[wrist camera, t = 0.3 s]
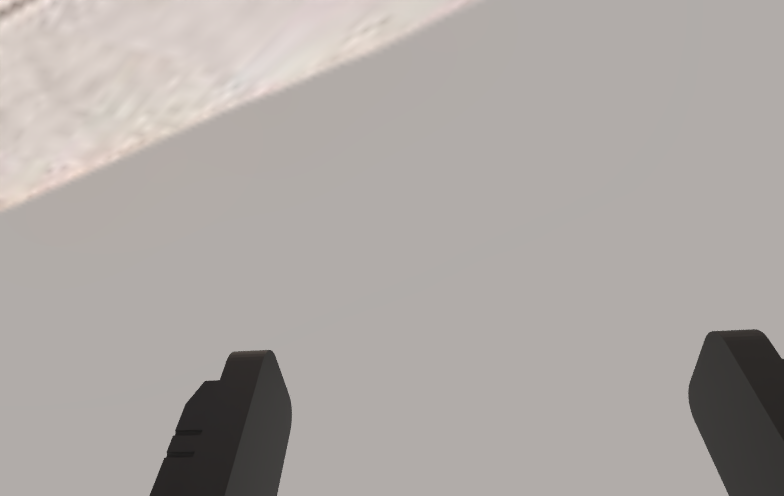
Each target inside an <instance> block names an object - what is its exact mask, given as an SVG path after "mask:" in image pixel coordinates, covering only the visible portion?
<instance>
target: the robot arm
mask: <svg viewBox="0 0 784 496" xmlns="http://www.w3.org/2000/svg"><path fill="white" fill-rule="evenodd" d="M688 394H689V404H690V409H691V412H692V415H693V418H694V420H695V423H696V425H697V427H698V429H699V431H700V433H701V436H702V438H703V440H704V442H705V444H706V446H707V449H708V451H709V453H710V455H711V457H712V459H713V462H714V464H715V466H716V468H717V470H718V473H719V475H720V477H721V479H722V481H723V483H724V486H725V488H726V490H727V492H728V494H729V496H784V359H782V358H781V357H780V356H779V354H778V353H777V351H776V350H775V348H774V347H773V345H772V344H771V342H770V341H769V339H768V338H767V337H766V335H765V334H764V333H763V332H761V331H759V330H754V329H753V330H731V331H712V332H710V333H708V335H707V336H706V338H705V341H704V344H703V346H702V349H701V352H700V355H699V358H698V361H697V364H696V366H695V369H694V372H693V375H692V378H691V381H690V384H689V393H688ZM291 421H292V409H291V401H290V397H289V394H288V391H287V388H286V385H285V383H284V379H283V377H282V374H281V371H280V368H279V366H278V363H277V360H276V357H275V355H274V353H273V352H272V351H271V350H262V351H261V350H260V351H238V352H232V353H231V354H230V355H229V357H228V359H227V361H226V364H225V367H224V370H223V373H222V376H221V378H220V380H218V381H205V382H204V383H203V384H202V385H201V386H200V388H199V389H198V390H197V391H196V392H195V394H194V395H193V396H192V397H191V398H190V400H189V401H188V402H187V403H186V405H185V407H184V410H183V412H182V415H181V417H180V420H179V422H178V425H177V427H176V430H175V431H176V434H175V436H173V438H172V440H171V443H170V445H169V448H168V450H167V457H166V458H164V460H163V463H162V465H161V468H160V471H159V473H158V476H157V478H156V481H155V483H154V486H153V489H152V491H151V493H150V496H277V492H278V487H279V483H280V478H281V473H282V468H283V463H284V458H285V454H286V449H287V444H288V439H289V434H290V429H291Z"/></svg>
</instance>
